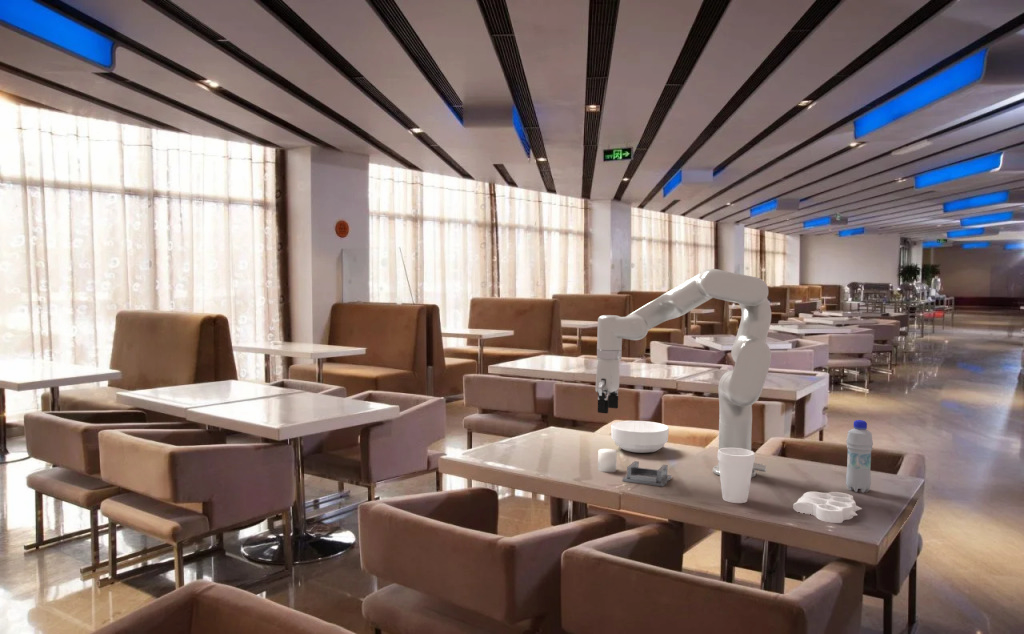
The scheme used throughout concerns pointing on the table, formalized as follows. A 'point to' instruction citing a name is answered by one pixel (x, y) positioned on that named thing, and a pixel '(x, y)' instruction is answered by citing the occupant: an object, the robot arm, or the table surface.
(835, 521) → the white compartment tray
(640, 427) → the bowl
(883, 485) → the table surface
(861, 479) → the bottle
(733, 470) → the foam cup
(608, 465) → the paper roll
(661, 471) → the roll cradle
